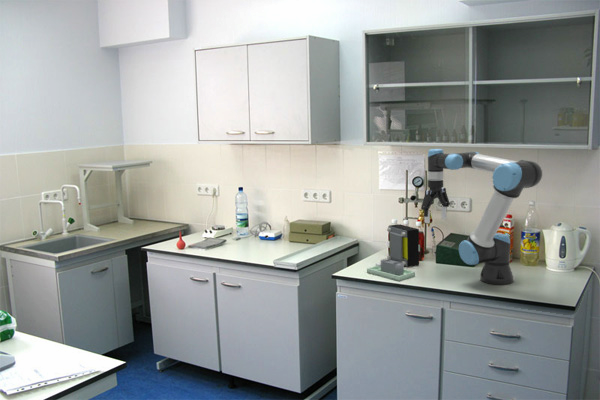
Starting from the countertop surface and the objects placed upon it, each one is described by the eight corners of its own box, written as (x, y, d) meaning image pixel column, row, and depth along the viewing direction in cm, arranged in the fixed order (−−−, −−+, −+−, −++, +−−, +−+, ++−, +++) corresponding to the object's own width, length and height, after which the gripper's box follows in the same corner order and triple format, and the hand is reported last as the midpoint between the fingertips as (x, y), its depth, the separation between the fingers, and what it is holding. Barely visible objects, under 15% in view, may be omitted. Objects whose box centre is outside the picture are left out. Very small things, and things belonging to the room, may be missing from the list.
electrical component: (386, 260, 316) (385, 225, 313) (401, 258, 320) (400, 223, 317) (404, 267, 300) (404, 231, 297) (420, 265, 304) (419, 229, 302)
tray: (415, 276, 283) (415, 271, 283) (399, 281, 276) (399, 276, 276) (382, 268, 300) (382, 264, 300) (366, 272, 293) (366, 268, 293)
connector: (405, 275, 283) (405, 263, 282) (399, 277, 280) (399, 265, 279) (381, 268, 296) (380, 257, 296) (374, 270, 293) (374, 259, 293)
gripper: (444, 177, 294) (444, 216, 297) (413, 181, 279) (413, 223, 282) (456, 177, 288) (456, 218, 291) (425, 182, 273) (425, 225, 276)
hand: (435, 221), depth 287 cm, fingers open, 13 cm apart
